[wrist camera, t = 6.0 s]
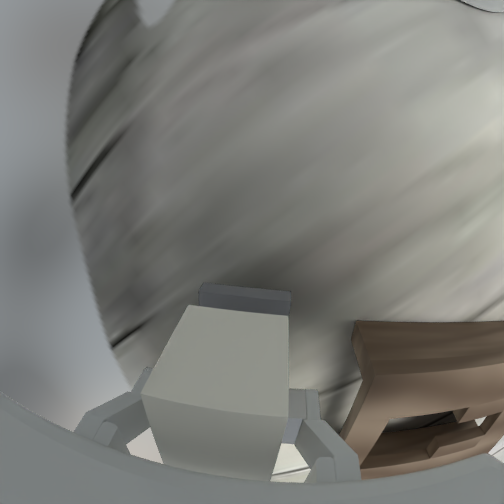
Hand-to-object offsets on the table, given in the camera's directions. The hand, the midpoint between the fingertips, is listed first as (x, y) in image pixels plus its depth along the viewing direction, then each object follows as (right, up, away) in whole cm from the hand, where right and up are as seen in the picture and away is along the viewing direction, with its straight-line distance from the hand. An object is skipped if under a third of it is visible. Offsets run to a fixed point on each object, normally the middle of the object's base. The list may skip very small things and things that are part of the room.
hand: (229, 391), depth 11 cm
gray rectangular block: (+1, +2, +5) cm, 5 cm away
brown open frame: (+16, -6, +8) cm, 19 cm away
